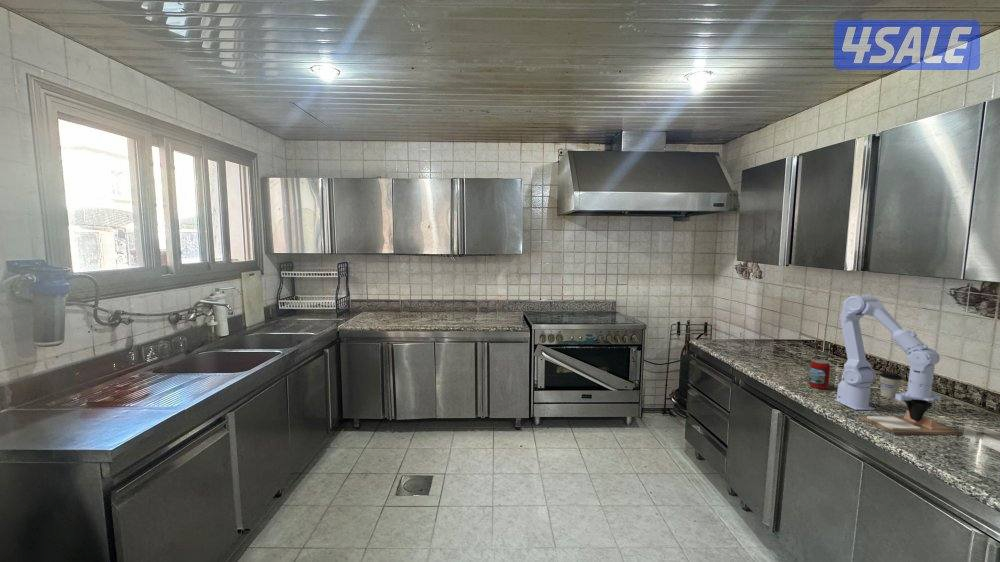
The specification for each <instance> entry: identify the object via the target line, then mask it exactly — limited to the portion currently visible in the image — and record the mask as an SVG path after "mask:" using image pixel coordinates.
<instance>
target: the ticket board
mask: <svg viewBox="0 0 1000 562" xmlns="http://www.w3.org/2000/svg"><path fill="white" fill-rule="evenodd" d="M904 416H905V415H860V416H859V418H860V420H862V421H864V420H865V421H864V422H866V421H867V422H866V423H868V422H869V423H868V424H870V423H871V424H870V425H872V424H873V426H874V425H875V426H874V427H876V426H877V428H878V427H879V428H878V429H881V430H883V431H885V430H886V431H885V432H887V431H888V432H887V433H889V432H890V433H889V434H891V433H892V434H891V435H893V434H894V435H893V436H925V435H926V436H934V435H935V436H953V435H954V436H955V435H956V436H959V435H960V436H961V435H963V432H962V431H960V430H958V429H955V428H953V427H950V426H948V425H946V424H943V423H941V422H938V421H936V423H937V424H940V425H942V426H945V427H947V428H948V430H931V429H929V428H926V427H924V426H922V425H919V424H917V423H915V422H912V421H910V420H908V419H905V418H904Z"/></svg>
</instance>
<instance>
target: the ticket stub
mask: <svg viewBox="0 0 1000 562" xmlns="http://www.w3.org/2000/svg"><path fill="white" fill-rule="evenodd" d="M903 416H904V418H905V419H908V420H910V421H912V422H915V423H917V424H919V425H922V426H924V427H926V428H929V429H931V430H948V428H947V427H945V426H942V425H940V424H937V423H936V422H937V420H936V419H934V418H931V417H929V416H926V415H925V414H924V415H923V416H922V418H921V420H920V421H915V420H913V419H911V418H910V413H909V410H908V409H907V410H906V414H905V415H903Z"/></svg>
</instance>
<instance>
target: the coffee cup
mask: <svg viewBox="0 0 1000 562" xmlns="http://www.w3.org/2000/svg"><path fill="white" fill-rule="evenodd" d="M902 380H903V377H902V376H900V374H899V373H895V372H891V371H883V372H880V373H879V381H880V396H881V397H884V398H887V397H888V398H887V399H895V396H896V394H899V393H898V392H899V389H900V385H901V382H902Z"/></svg>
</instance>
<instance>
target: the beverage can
mask: <svg viewBox="0 0 1000 562" xmlns="http://www.w3.org/2000/svg"><path fill="white" fill-rule="evenodd" d="M809 369H810V370H809V377H808V378H809V379H808V385H809V386H811V387H812V388H814V387H815V388H814V389H817V388H819V389H818V390H825V389H828V388H829V382H830V375H831V365H830V362H829V361H827V360H823V359H813V360H812V361H811V362H810V367H809Z"/></svg>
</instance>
